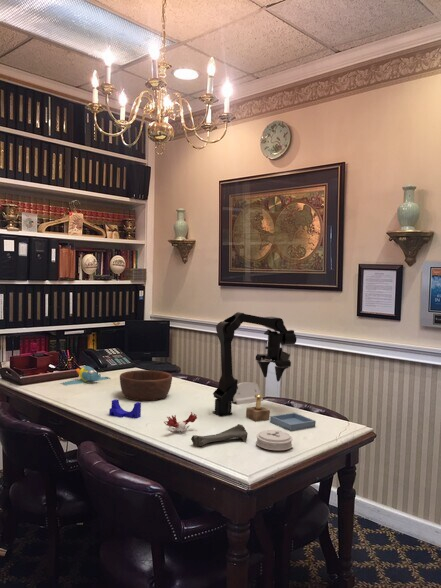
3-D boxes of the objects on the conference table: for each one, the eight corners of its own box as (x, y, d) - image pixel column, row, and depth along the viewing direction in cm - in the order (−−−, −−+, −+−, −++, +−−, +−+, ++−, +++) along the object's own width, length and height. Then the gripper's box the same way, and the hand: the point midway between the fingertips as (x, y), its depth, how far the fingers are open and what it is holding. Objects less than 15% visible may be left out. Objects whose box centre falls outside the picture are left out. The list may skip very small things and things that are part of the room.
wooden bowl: (108, 398, 232) (109, 376, 231) (136, 387, 255) (137, 368, 255) (155, 405, 222) (156, 383, 222) (180, 394, 246) (181, 373, 245)
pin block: (255, 421, 204) (256, 412, 204) (246, 417, 210) (246, 407, 210) (269, 419, 208) (269, 410, 208) (259, 415, 214) (259, 406, 214)
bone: (241, 437, 185) (242, 420, 185) (251, 442, 179) (252, 425, 179) (188, 444, 174) (189, 427, 174) (197, 450, 169) (197, 433, 168)
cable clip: (109, 416, 204) (109, 401, 204) (114, 413, 208) (115, 399, 208) (135, 419, 200) (135, 405, 200) (140, 416, 204) (141, 402, 204)
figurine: (184, 423, 197) (185, 407, 197) (203, 431, 188) (204, 414, 188) (153, 430, 187) (153, 413, 187) (171, 439, 178) (172, 420, 178)
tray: (290, 431, 193) (290, 424, 193) (270, 422, 204) (270, 416, 204) (315, 426, 200) (315, 420, 200) (294, 418, 211) (294, 412, 211)
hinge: (237, 404, 229) (233, 383, 231) (230, 406, 233) (227, 384, 235) (263, 400, 239) (260, 379, 242) (257, 401, 243) (253, 381, 245)
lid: (282, 455, 167) (283, 441, 167) (249, 447, 174) (250, 433, 173) (297, 445, 178) (298, 432, 177) (266, 438, 184) (266, 425, 184)
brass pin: (256, 419, 207) (257, 396, 206) (252, 417, 209) (253, 394, 209) (263, 418, 208) (264, 395, 208) (258, 416, 211) (259, 394, 211)
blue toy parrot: (102, 361, 279) (118, 366, 269) (102, 376, 280) (117, 382, 269) (56, 366, 259) (71, 372, 249) (56, 383, 259) (71, 389, 249)
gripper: (301, 347, 220) (299, 382, 221) (274, 341, 236) (272, 374, 236) (282, 348, 214) (279, 384, 214) (255, 342, 230) (253, 375, 230)
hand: (271, 379), depth 224 cm, fingers open, 9 cm apart
